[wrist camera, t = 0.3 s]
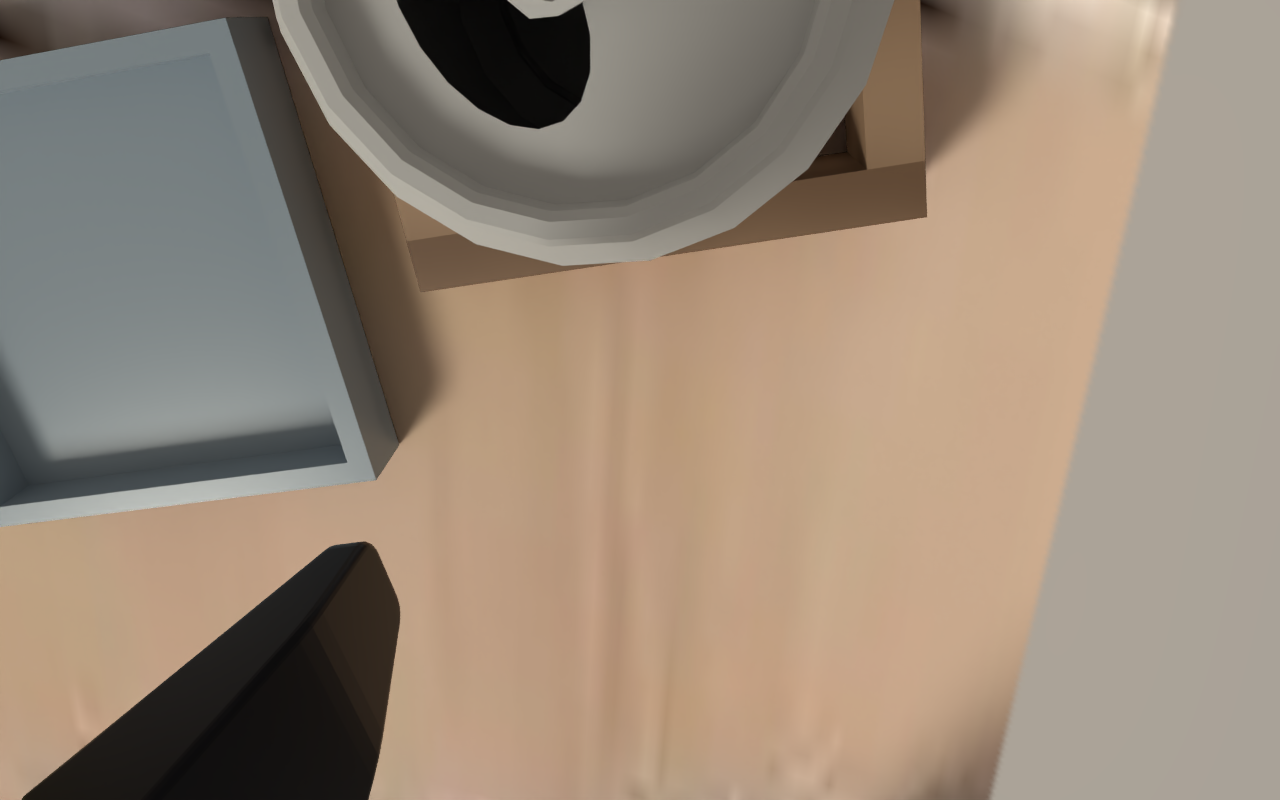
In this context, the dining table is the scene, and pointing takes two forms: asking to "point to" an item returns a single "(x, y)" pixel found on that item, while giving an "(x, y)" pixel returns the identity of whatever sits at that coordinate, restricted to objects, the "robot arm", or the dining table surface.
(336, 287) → the tray
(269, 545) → the dining table surface
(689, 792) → the dining table surface
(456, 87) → the can
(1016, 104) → the dining table surface
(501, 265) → the holder collar
